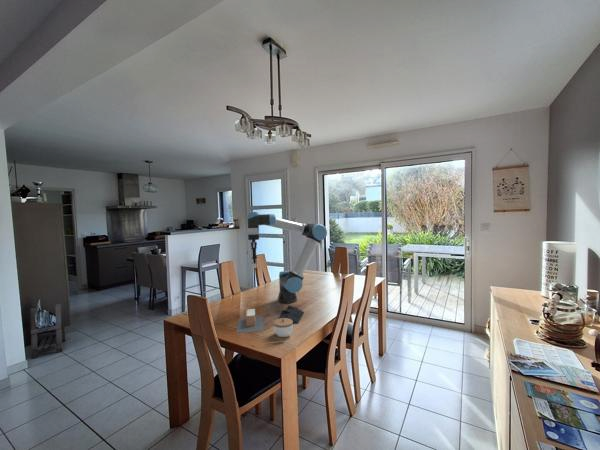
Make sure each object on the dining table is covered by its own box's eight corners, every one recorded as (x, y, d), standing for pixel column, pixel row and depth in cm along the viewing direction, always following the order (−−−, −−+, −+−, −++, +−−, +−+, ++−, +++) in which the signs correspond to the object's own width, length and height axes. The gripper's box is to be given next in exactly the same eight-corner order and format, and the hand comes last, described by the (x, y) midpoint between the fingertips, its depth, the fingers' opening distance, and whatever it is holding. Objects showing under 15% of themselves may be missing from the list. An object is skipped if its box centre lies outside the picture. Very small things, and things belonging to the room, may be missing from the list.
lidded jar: (273, 332, 153) (273, 315, 153) (292, 330, 154) (292, 314, 154) (273, 340, 142) (273, 323, 142) (293, 339, 143) (293, 321, 143)
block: (255, 325, 162) (255, 318, 173) (254, 315, 161) (255, 308, 173) (246, 326, 161) (247, 318, 173) (246, 316, 161) (247, 309, 172)
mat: (263, 317, 176) (263, 316, 176) (264, 331, 154) (264, 330, 154) (238, 319, 174) (238, 318, 174) (236, 333, 152) (236, 332, 152)
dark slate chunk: (274, 323, 166) (274, 316, 166) (283, 311, 188) (282, 304, 187) (298, 324, 163) (298, 317, 163) (304, 312, 185) (304, 305, 185)
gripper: (248, 233, 192) (249, 266, 193) (247, 234, 179) (249, 269, 180) (258, 233, 193) (260, 265, 194) (259, 234, 181) (260, 269, 181)
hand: (254, 267), depth 187 cm, fingers closed
